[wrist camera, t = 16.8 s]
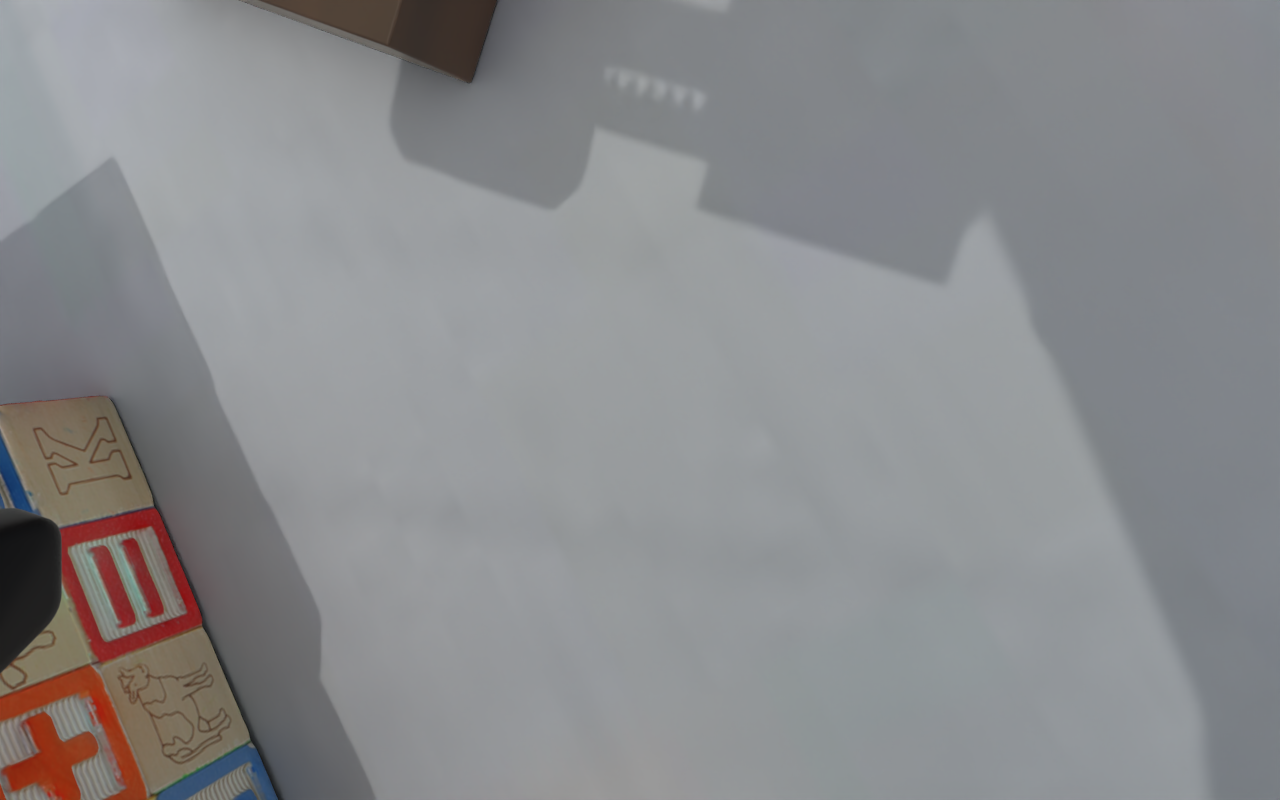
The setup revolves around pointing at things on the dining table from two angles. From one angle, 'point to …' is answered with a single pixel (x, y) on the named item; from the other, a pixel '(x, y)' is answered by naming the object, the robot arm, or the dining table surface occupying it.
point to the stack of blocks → (111, 633)
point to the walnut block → (402, 28)
